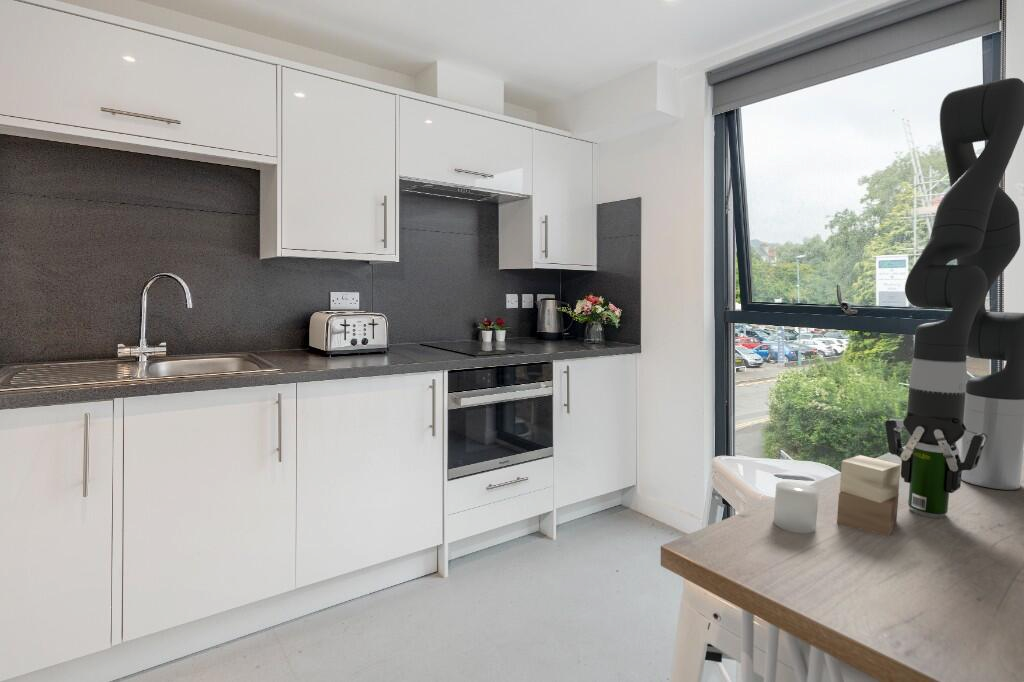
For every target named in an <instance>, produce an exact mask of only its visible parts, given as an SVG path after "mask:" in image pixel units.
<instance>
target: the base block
mask: <svg viewBox="0 0 1024 682" xmlns="http://www.w3.org/2000/svg"><path fill="white" fill-rule="evenodd" d="M899 495H900V492H898V496H896V497H893V498H891V499H889V500H886V501H884V502H882V503H879V502H876V501H872V500H869V499H865V498H862V497H858V496H855V495H851V494H848V493H845V492H841V491H839V492H838V502H837V503H838V504H837V518H836V523H837V524H840V525H845V526H847V527H851V528H856V529H860V528H861V529H860V530H864V531H868V530H869V531H868V532H873V533H876V534H880V535H884V536H890V534H891V533H892V531H893V529H894V527H895V525H896V524H897V522H898V521H897V519H898V508H899Z"/></svg>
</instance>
